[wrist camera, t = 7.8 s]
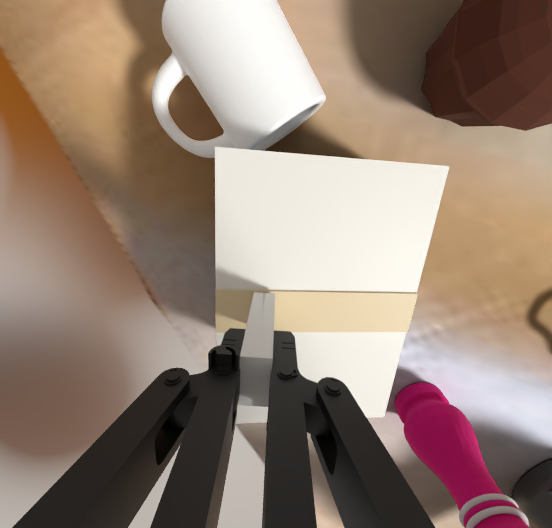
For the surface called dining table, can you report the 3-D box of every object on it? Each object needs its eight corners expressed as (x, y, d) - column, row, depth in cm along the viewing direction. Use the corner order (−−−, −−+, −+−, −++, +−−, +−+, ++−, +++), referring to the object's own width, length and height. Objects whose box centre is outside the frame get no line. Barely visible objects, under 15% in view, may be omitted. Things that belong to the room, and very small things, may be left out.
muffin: (380, 86, 24) (448, 25, 14) (475, -48, 21) (641, -238, 11) (471, 166, 26) (584, 160, 16) (569, 54, 23) (776, -33, 13)
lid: (379, 409, 24) (385, 418, 23) (217, 416, 22) (216, 426, 21) (440, 166, 17) (451, 166, 16) (216, 147, 15) (214, 146, 14)
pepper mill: (426, 427, 36) (588, 700, 17) (380, 412, 36) (497, 681, 17) (456, 388, 34) (678, 652, 15) (408, 371, 33) (579, 627, 14)
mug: (258, -1, 22) (247, -95, 14) (318, 113, 24) (337, 84, 17) (149, 90, 24) (90, 50, 16) (215, 186, 27) (190, 190, 19)
